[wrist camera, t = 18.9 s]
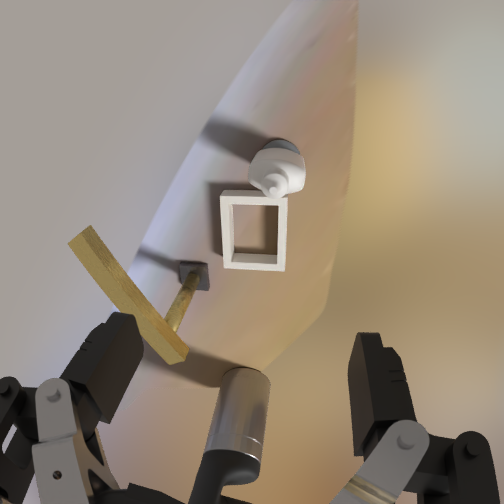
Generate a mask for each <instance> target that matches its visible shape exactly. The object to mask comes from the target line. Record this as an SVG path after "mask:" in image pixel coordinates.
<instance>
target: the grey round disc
mask: <svg viewBox="0 0 504 504" xmlns="http://www.w3.org/2000/svg"><path fill="white" fill-rule="evenodd" d="M267 148H284V149H288V150H291V151H294V152H296V153H298V154H299V155H300V152H299V150H298V149H297V147H296V146H295V145H294V144H292V143H291V142H289V141H286V140H274V141H271V142H269V143H267V144H266V145H265V146H264V147H263V149H267ZM263 149H262V150H263Z"/></svg>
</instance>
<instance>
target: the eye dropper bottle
mask: <svg viewBox="0 0 504 504" xmlns="http://www.w3.org/2000/svg"><path fill="white" fill-rule="evenodd" d="M305 175H306V171H305V163H304V158H303V157H302V156H301V155H299V154H298V153H296V152H294V151H291V150H288V149H284V148H267V149H263V150H260V151H258V152H257V154H256V155H255V157H254V158H253V160H252V162H251V164H250V166H249V173H248V180H249V182H250V184H252V185H253V186H255V187H256V188H258V189H260V190H262V192H263V193H264V195H265V196H267V197H269V198H272V199H278V198H280V197H281V198H282V197H283V196H284V195H285V194H289V193H294V192H297V191H300V190H302V189H303V187H304V182H305Z"/></svg>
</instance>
